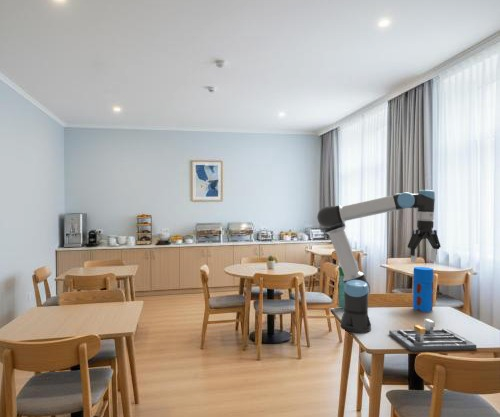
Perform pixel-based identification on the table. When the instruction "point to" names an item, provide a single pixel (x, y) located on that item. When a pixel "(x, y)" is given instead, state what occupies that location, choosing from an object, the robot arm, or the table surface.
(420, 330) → the fader
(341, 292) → the milk carton
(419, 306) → the thermos
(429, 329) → the fader
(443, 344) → the console
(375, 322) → the table surface
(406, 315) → the table surface
